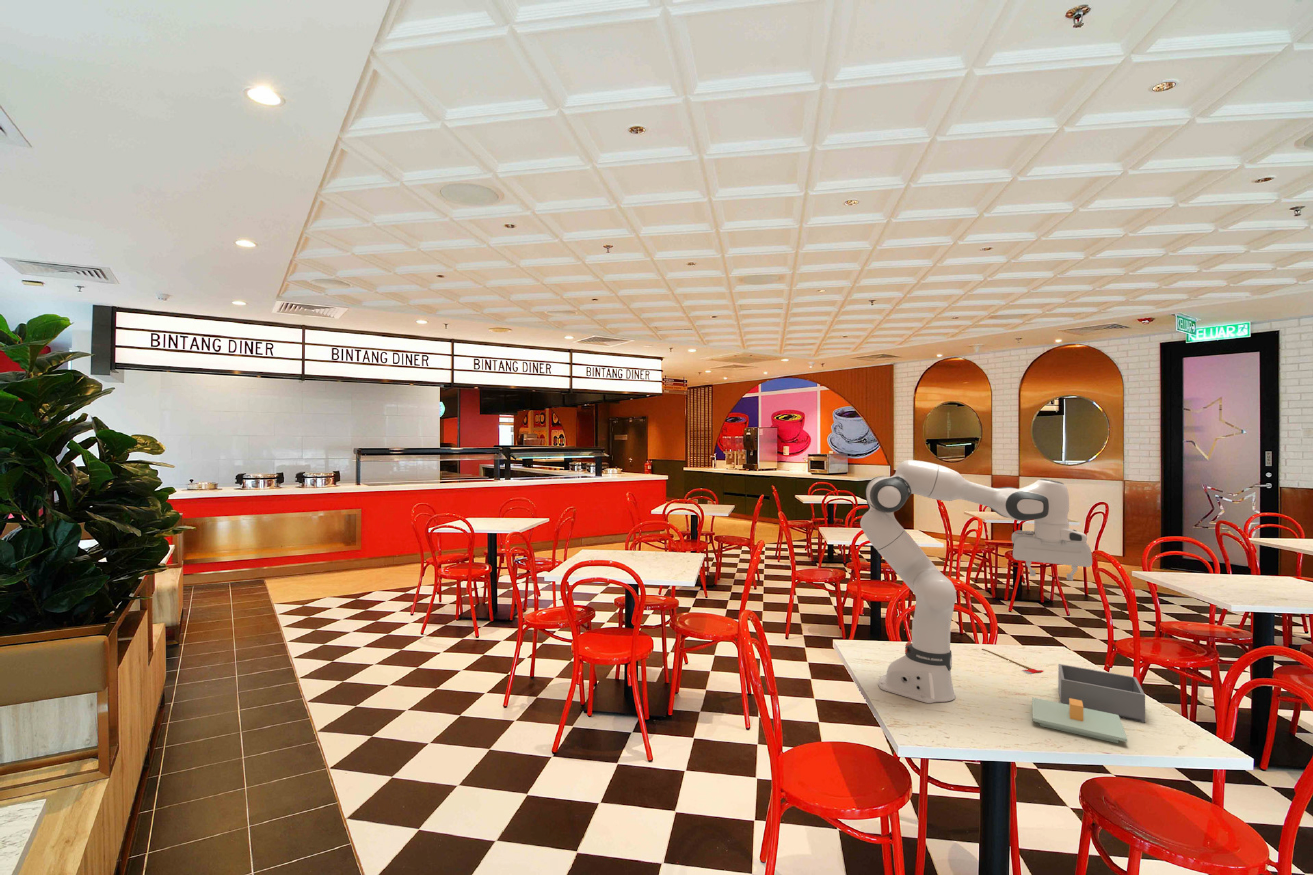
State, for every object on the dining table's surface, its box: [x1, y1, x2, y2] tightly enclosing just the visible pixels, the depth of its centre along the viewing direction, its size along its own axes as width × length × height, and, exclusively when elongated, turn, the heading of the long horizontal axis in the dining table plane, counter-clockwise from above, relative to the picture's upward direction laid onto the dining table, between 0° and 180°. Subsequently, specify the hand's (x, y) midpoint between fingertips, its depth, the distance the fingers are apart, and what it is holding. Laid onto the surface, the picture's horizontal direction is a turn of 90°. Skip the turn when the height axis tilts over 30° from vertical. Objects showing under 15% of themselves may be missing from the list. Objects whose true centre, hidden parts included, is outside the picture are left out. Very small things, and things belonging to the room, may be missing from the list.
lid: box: [1031, 697, 1128, 744], centre depth 168 cm, size 21×17×6 cm
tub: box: [1057, 663, 1146, 724], centre depth 182 cm, size 20×16×8 cm
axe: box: [981, 648, 1044, 675], centre depth 219 cm, size 26×1×10 cm
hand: (1050, 577), depth 180 cm, fingers open, 8 cm apart
